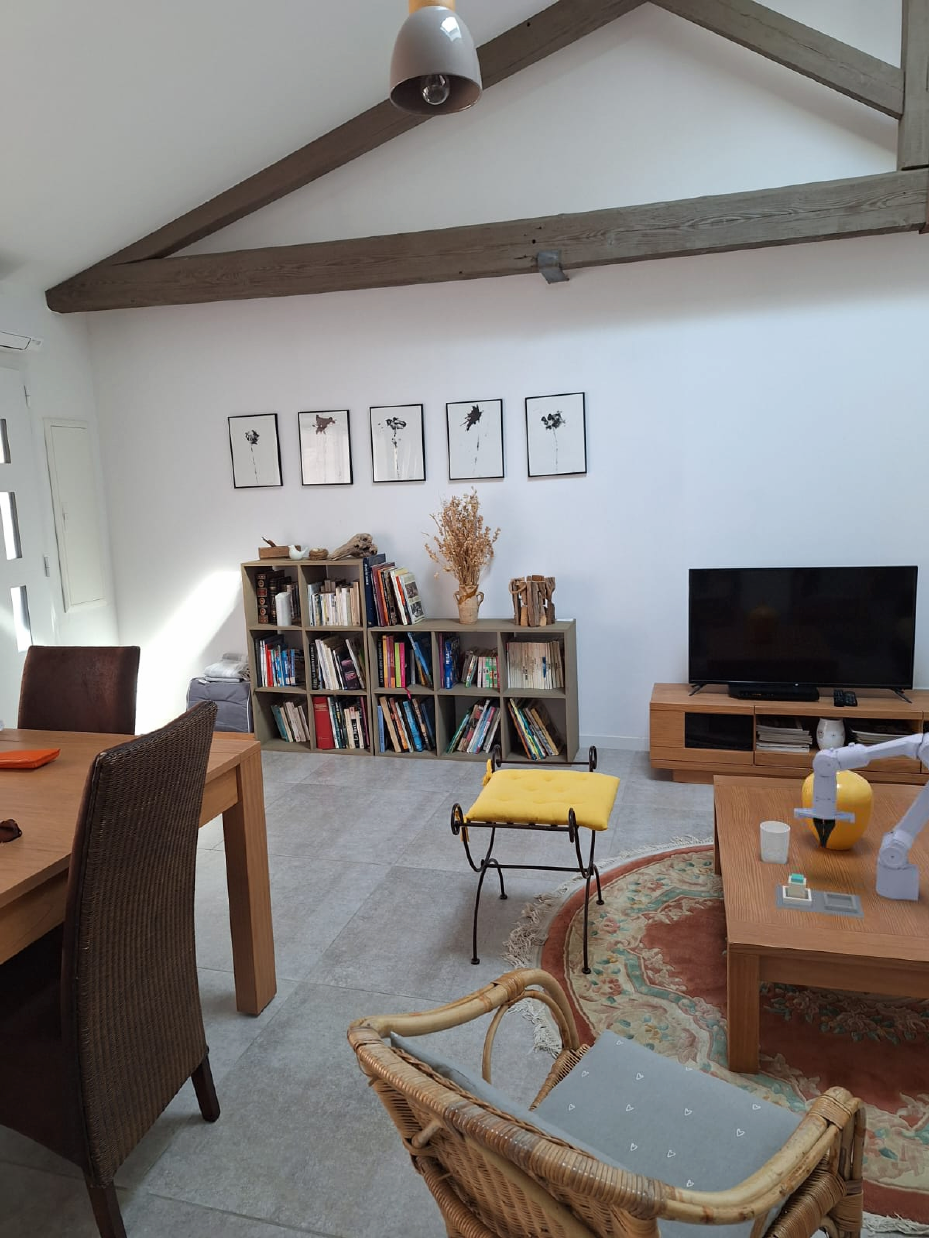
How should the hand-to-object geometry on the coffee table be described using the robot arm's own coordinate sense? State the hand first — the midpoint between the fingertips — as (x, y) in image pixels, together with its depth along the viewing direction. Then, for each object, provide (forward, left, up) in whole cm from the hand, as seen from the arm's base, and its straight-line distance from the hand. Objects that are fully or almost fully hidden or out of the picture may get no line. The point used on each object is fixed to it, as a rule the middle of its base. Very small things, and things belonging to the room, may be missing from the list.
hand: (823, 845), depth 222 cm
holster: (-3, +13, -9) cm, 17 cm away
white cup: (+12, -11, -11) cm, 19 cm away
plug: (+7, +13, -9) cm, 18 cm away
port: (+7, +13, -10) cm, 18 cm away
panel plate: (+2, +13, -10) cm, 17 cm away
